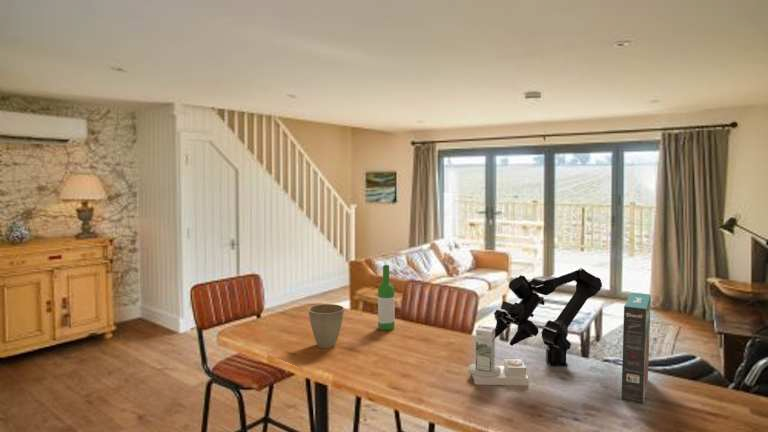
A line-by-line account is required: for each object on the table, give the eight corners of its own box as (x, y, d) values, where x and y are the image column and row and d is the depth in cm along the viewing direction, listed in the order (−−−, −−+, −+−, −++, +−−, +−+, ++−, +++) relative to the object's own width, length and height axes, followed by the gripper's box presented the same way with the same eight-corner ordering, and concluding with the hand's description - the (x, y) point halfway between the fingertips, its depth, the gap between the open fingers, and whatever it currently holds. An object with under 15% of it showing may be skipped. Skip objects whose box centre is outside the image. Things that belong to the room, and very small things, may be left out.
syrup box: (495, 366, 173) (495, 326, 172) (491, 372, 168) (491, 331, 167) (479, 364, 175) (479, 324, 174) (474, 370, 170) (475, 329, 169)
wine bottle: (394, 331, 227) (394, 267, 225) (377, 331, 227) (377, 267, 225) (394, 326, 234) (394, 264, 232) (378, 326, 235) (377, 264, 233)
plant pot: (302, 348, 203) (301, 311, 202) (319, 338, 217) (319, 302, 216) (334, 353, 197) (333, 314, 196) (350, 342, 211) (349, 305, 210)
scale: (521, 372, 176) (521, 356, 176) (528, 385, 165) (528, 368, 165) (466, 371, 177) (466, 355, 177) (470, 384, 167) (470, 367, 166)
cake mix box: (642, 404, 151) (646, 308, 149) (621, 399, 154) (624, 306, 152) (648, 379, 170) (650, 294, 168) (628, 376, 173) (631, 292, 171)
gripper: (497, 287, 183) (473, 320, 180) (532, 298, 167) (506, 335, 163) (514, 306, 187) (490, 338, 184) (549, 318, 170) (524, 354, 167)
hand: (502, 341), depth 174 cm, fingers open, 9 cm apart
